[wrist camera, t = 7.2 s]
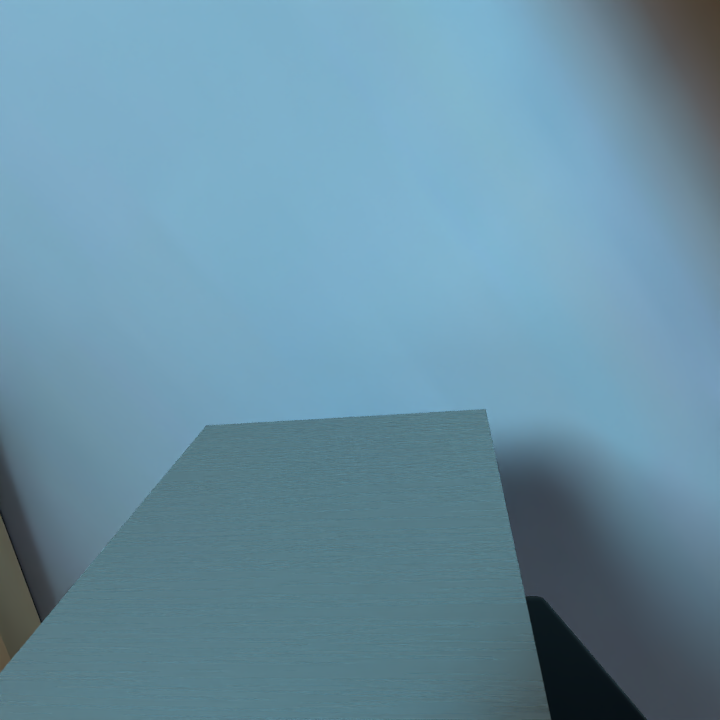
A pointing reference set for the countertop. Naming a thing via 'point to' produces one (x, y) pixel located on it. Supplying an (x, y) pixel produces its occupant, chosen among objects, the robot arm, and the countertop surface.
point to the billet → (300, 586)
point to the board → (13, 603)
